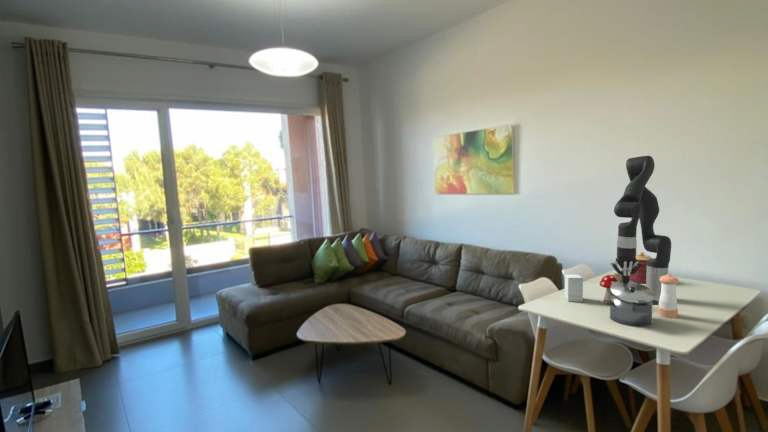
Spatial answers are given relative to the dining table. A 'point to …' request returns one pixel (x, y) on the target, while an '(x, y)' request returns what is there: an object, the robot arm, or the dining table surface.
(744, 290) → the dining table surface
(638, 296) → the cooker lid
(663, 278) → the pepper shaker
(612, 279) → the decorative mushroom
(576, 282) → the supplement box
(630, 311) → the cooker pot
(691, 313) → the dining table surface
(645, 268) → the canister
